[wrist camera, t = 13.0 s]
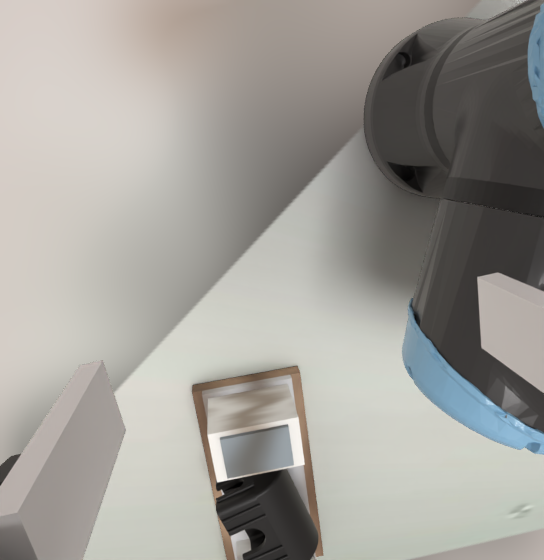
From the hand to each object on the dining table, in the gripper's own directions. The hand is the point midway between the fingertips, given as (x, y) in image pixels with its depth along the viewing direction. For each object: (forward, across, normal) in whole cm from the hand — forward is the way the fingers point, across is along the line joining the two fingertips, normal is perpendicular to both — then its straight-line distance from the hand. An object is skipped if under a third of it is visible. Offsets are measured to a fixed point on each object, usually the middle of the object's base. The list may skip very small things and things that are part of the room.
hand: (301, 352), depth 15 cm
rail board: (+28, -4, -27) cm, 40 cm away
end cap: (+26, -4, -27) cm, 38 cm away
